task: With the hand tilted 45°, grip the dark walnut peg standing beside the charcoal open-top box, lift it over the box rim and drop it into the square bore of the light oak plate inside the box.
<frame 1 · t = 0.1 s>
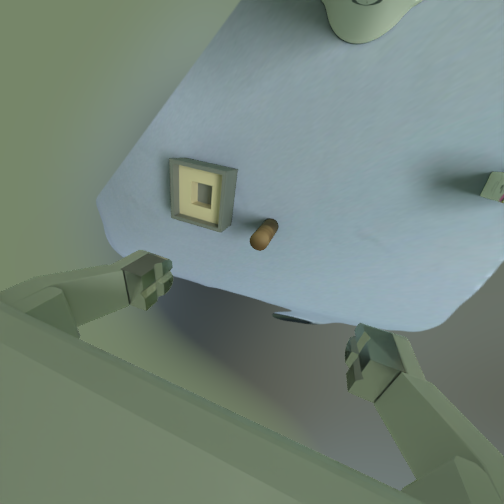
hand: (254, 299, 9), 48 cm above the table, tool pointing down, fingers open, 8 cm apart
bore box: (209, 192, 60), on the table
peg: (270, 226, 58), on the table
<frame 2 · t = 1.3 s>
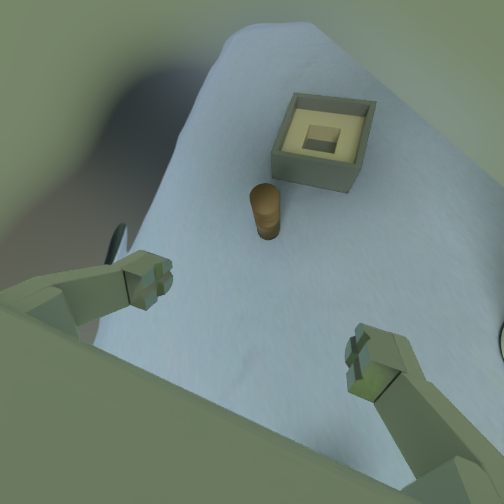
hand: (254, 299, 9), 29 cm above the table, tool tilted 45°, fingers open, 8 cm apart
bore box: (317, 155, 45), on the table
peg: (268, 229, 41), on the table
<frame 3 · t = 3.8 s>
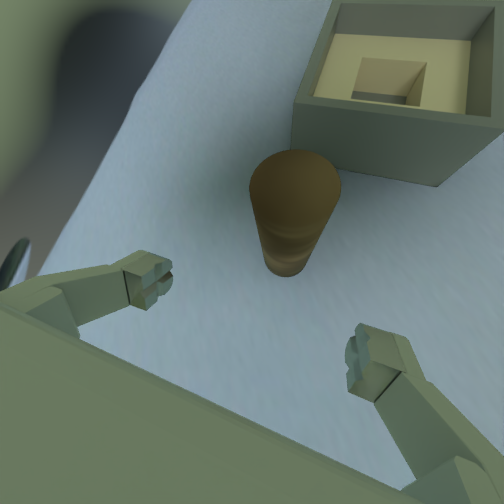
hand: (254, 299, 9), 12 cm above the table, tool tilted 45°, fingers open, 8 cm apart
bore box: (370, 120, 25), on the table
peg: (285, 256, 21), on the table
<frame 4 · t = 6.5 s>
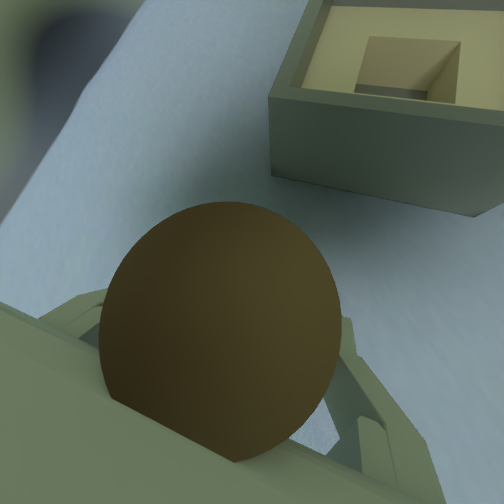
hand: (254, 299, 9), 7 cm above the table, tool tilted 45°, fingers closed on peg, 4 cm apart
bore box: (378, 122, 19), on the table
peg: (261, 316, 15), on the table, touching gripper
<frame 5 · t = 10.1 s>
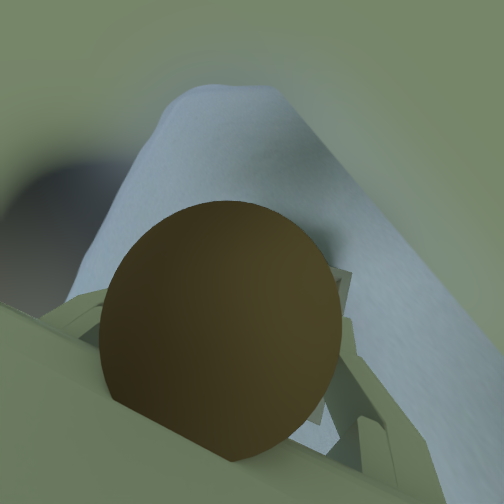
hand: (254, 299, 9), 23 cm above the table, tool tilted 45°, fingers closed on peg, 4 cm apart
bore box: (269, 317, 30), on the table
peg: (261, 316, 15), point 16 cm above the table, touching gripper
when the fingers open (9 cm above the table, at t = 14.1 s): peg stays where it is, resting on bore box.
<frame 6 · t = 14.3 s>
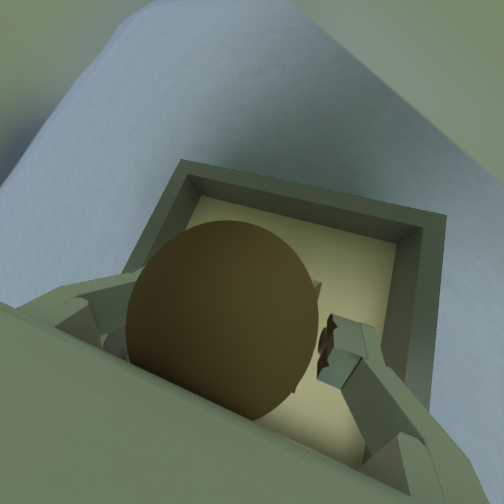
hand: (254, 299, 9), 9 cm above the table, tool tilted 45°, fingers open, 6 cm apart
bore box: (262, 316, 17), on the table
peg: (262, 316, 16), point 1 cm above the table, touching bore box
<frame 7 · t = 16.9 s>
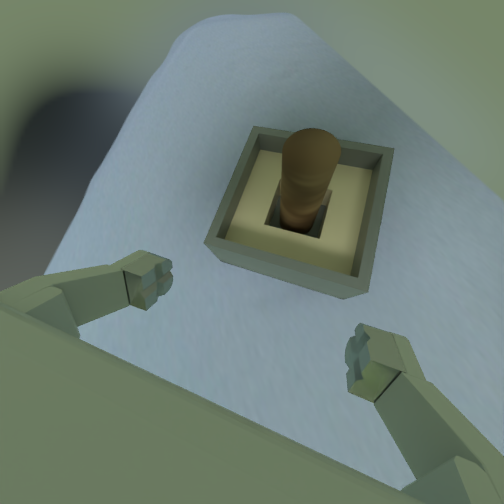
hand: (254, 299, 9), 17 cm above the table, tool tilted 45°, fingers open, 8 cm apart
bore box: (295, 224, 28), on the table
peg: (296, 220, 27), point 1 cm above the table, touching bore box
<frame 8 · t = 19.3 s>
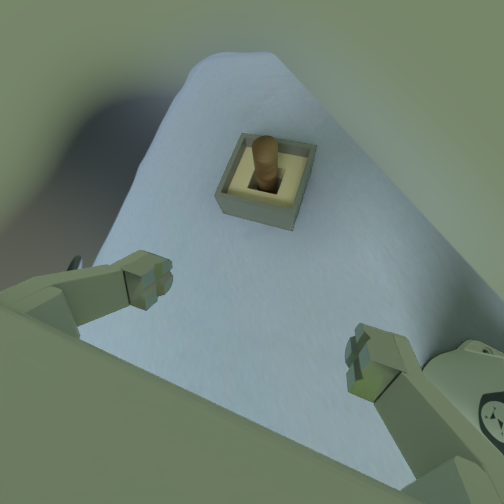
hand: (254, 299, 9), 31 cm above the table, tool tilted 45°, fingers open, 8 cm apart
bore box: (267, 191, 47), on the table
peg: (267, 188, 46), point 1 cm above the table, touching bore box
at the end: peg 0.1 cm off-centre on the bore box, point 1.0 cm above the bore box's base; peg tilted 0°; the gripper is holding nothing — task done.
